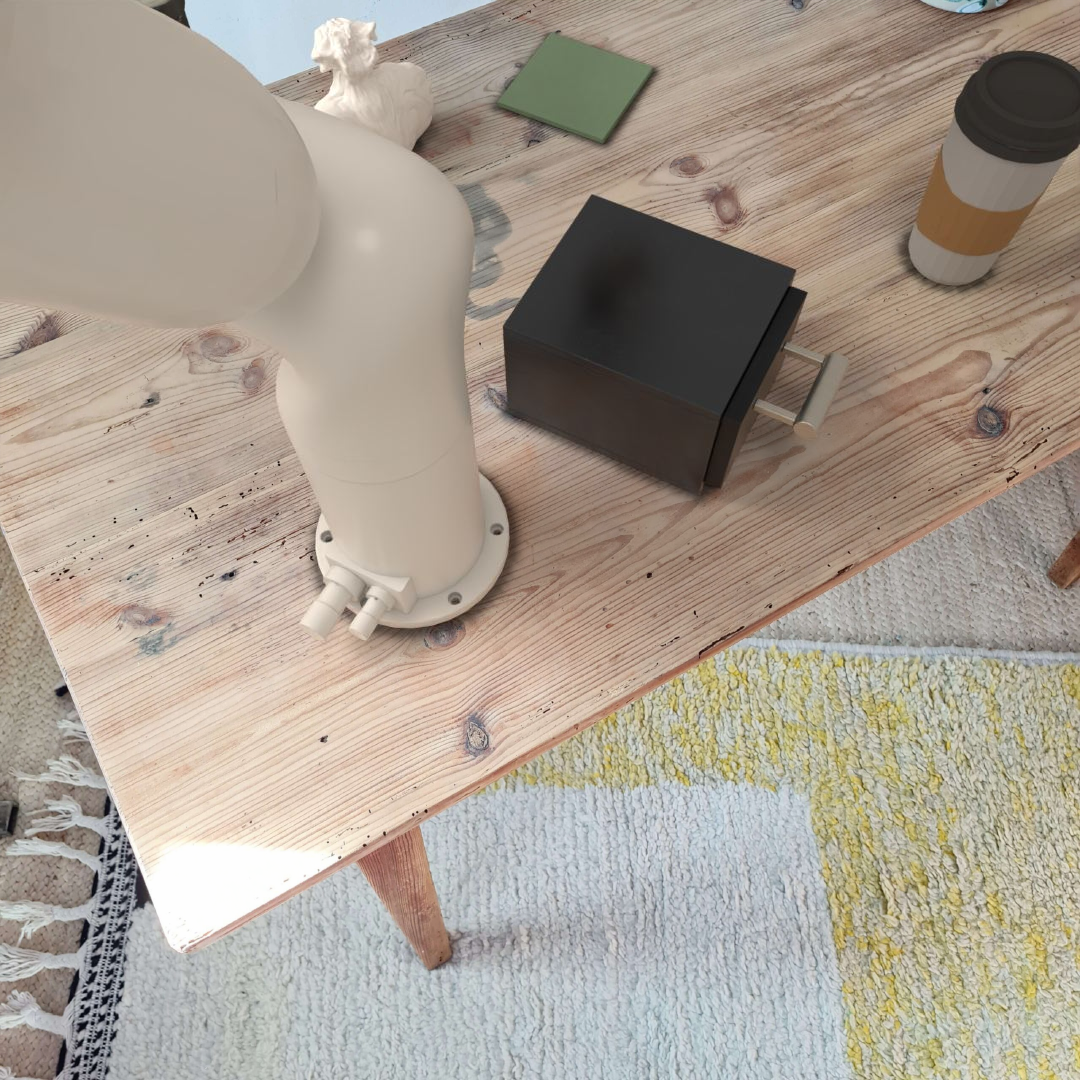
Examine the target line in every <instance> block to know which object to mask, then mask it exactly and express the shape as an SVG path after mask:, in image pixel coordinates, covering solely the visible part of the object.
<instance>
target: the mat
mask: <svg viewBox="0 0 1080 1080" xmlns="http://www.w3.org/2000/svg"><path fill="white" fill-rule="evenodd" d="M653 71H654V67H653V66H652V65H649V64H646V63H642V62H640V61H637V60H634V59H631V58H628V57H625V56H623V55H622V56H621V55H619V54H616V53H613V52H610V51H607V50H604V49H601V48H597V47H595V46H592V45H588V44H585V43H583V42H580V41H577V40H574V39H571V38H568V37H565V36H562V35H559V34H557V33H553V32H550V34H548V35H547V37H546V38H545V39H544V41H543V42H542V44H541V45H540V46H539V47H538V49H537V50H536V51H535V52H534V54H532V56H531V57H530V59H529V60H528V62H527V63H525V65H524V67H523V68H522V69H521V70H520V72H519V73H518V74H517V76H516V77H515V78H514V80H513V81H512V82H511V83H510V85H508V87H507V89H506V90H505V91H504V92H503V93H502V95H501V96H500V98H499V99H498V100H497V107H499V108H501V109H504V110H507V111H510V112H512V113H516V114H519V115H521V116H524V117H526V118H529V119H532V120H536V121H538V122H541V123H544V124H546V125H549V126H552V127H554V128H558V129H561V130H563V131H566V132H569V133H571V134H575V135H577V136H580V137H583V138H586V139H587V140H591V141H594V142H597V143H600V144H602V145H603V144H604V143H605V142H606V140H607V139H608V137H609V136H610V134H611V133H612V132H613V130H614V129H615V127H616V126H617V124H618V123H619V121H620V120H621V119H622V117H623V116H624V114H625V113H626V111H627V110H628V108H630V106H631V104H632V103H633V101H634V100H635V98H636V97H637V95H638V94H639V92H640V91H641V89H642V88H643V86H644V85H645V84H646V82H647V81H648V79H649V78H650V76H651V75H652V74H653Z"/></svg>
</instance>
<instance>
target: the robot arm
mask: <svg viewBox="0 0 1080 1080" xmlns="http://www.w3.org/2000/svg"><path fill="white" fill-rule="evenodd" d="M475 248H476V247H475V228H474V222H473V218H472V213H471V211H470V207H469V206H468V203H467V202H466V200H465V198H464V196H463V195H462V193H461V192H460V191H459V188H458V187H457V186H456V185H455V183H454V182H453V181H451V180H450V178H449V177H448V176H447V175H446V174H445V173H444V172H442V170H440V169H439V168H438V167H436V166H435V165H434V164H432V163H431V162H429V161H428V160H426V159H425V158H423V157H422V156H421V155H419V154H417V153H416V152H414V151H413V150H412V151H411V150H409V149H407V148H405V147H403V146H402V145H400V144H398V143H396V142H394V141H392V140H390V139H388V138H385V137H383V136H381V135H379V134H377V133H375V132H372V131H370V130H367V129H365V128H362V127H360V126H357V125H355V124H352V123H350V122H347V121H345V120H342V119H340V118H337V117H335V116H332V115H330V114H327V113H324V112H322V111H319V110H317V109H314V107H312V106H310V105H307V104H304V103H302V102H298V101H295V100H289V99H287V98H284V97H281V96H279V95H276V94H274V93H272V92H270V90H268V88H267V87H265V85H263V83H262V82H260V81H259V79H258V78H256V76H255V75H254V74H253V73H251V71H249V69H248V68H247V67H245V65H244V64H242V62H240V61H238V59H236V58H234V57H233V56H232V55H230V54H229V53H228V52H226V51H225V50H223V49H222V48H221V47H220V46H218V44H216V43H214V42H213V41H211V40H210V39H209V38H207V37H206V36H204V35H202V34H201V33H198V32H197V31H195V30H193V29H192V28H191V27H190V28H188V27H186V26H184V25H182V24H181V23H179V22H177V21H175V20H173V19H172V18H170V17H168V16H166V15H165V14H163V13H160V12H158V11H156V10H154V9H152V8H150V7H148V6H145V5H143V4H141V3H139V2H137V1H134V0H0V303H7V304H13V305H18V306H26V307H32V308H38V309H44V310H50V311H56V312H63V313H69V314H74V315H79V316H84V317H89V318H94V319H97V320H103V321H106V322H107V321H108V322H111V323H116V324H120V325H123V326H132V327H139V328H147V329H153V330H154V329H155V330H193V329H194V330H195V329H202V328H208V327H211V326H217V325H224V326H226V327H228V328H230V329H232V330H235V331H237V332H239V333H241V334H243V335H245V336H247V337H249V338H252V339H253V340H255V341H257V342H258V343H261V344H263V345H264V346H266V347H268V348H269V349H271V350H272V351H274V352H275V353H277V354H278V355H279V356H281V357H282V359H281V361H280V364H279V367H278V370H277V373H276V379H275V400H276V405H277V409H278V413H279V415H280V416H279V417H280V419H281V421H282V424H283V426H284V429H285V432H286V434H287V436H288V438H289V440H290V443H291V444H292V446H293V449H294V451H295V453H296V455H297V459H298V460H299V462H300V465H301V468H302V469H303V472H304V474H305V476H306V478H307V480H308V481H307V482H308V483H309V485H310V487H311V490H312V492H313V494H314V497H315V499H316V501H317V504H318V506H319V508H320V512H321V513H320V515H319V517H318V521H317V526H316V531H315V542H314V543H315V548H314V549H315V555H316V560H317V565H318V567H319V571H320V573H321V575H322V581H323V583H324V585H325V586H324V588H323V589H322V590H321V592H320V594H319V595H318V597H317V598H316V599H315V600H313V601H312V603H311V605H310V606H309V607H308V609H307V611H306V612H305V613H304V614H303V616H302V618H301V619H300V621H299V622H298V623H297V626H298V628H299V629H300V630H301V631H302V632H303V633H305V634H306V635H308V636H309V637H311V638H313V639H315V640H316V641H319V642H323V643H326V641H327V640H328V638H329V637H330V635H331V633H332V631H333V630H334V629H335V628H336V626H337V624H338V623H339V621H340V619H341V616H342V614H343V612H344V611H345V609H348V610H350V611H351V612H352V613H354V614H355V617H354V618H353V620H352V622H351V623H350V625H349V626H348V628H347V631H349V633H350V634H352V635H353V636H355V637H356V638H358V639H360V640H362V641H364V642H367V641H369V638H370V637H371V635H372V634H373V632H374V631H375V629H376V628H377V626H378V625H380V626H385V627H390V628H395V629H396V628H398V629H419V628H424V627H432V626H435V625H438V624H443V623H445V622H448V621H450V620H453V619H454V618H457V617H459V616H461V615H462V614H464V613H466V612H468V611H469V610H470V609H471V608H473V607H474V606H475V605H477V604H479V602H480V601H482V599H484V598H485V596H486V595H487V594H488V593H489V592H490V590H492V588H493V587H494V586H495V584H496V582H497V581H498V579H499V577H500V575H501V574H502V572H503V569H504V567H505V565H506V561H507V558H508V555H509V548H510V524H509V519H508V513H507V509H506V506H505V505H504V502H503V500H502V497H501V495H500V493H499V492H498V491H497V489H496V488H495V486H494V485H493V484H492V482H491V481H490V480H489V479H488V478H487V477H486V476H484V475H483V474H482V473H481V471H479V465H478V458H477V449H476V441H475V434H474V425H473V424H474V423H473V417H472V408H471V401H470V400H471V399H470V391H469V388H468V387H469V386H468V378H467V370H466V368H467V367H466V358H465V323H466V315H467V308H468V301H469V294H470V288H471V282H472V274H473V270H474V269H473V268H474V259H475V258H474V257H475ZM497 533H499V534H497ZM456 601H457V602H458V603H456V604H454V602H456Z"/></svg>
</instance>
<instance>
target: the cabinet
mask: <svg viewBox="0 0 1080 1080" xmlns="http://www.w3.org/2000/svg"><path fill="white" fill-rule="evenodd" d="M796 273H797V269H796V268H793V267H790V266H789V265H785V264H782V263H780V262H777V261H774V260H772V259H769V258H767V257H764V256H761V255H758V254H756V253H753V252H751V251H747V250H745V249H742V248H739V247H737V246H734V245H732V244H728V243H726V242H723V241H720V240H718V239H716V238H712V237H710V236H707V235H704V234H701V233H699V232H696V231H693V230H691V229H688V228H685V227H682V226H680V225H677V224H674V223H672V222H670V221H666V220H664V219H661V218H658V217H655V216H653V215H650V214H648V213H645V212H642V211H639V210H636V209H634V208H631V207H628V206H625V205H623V204H620V203H618V202H616V201H612V200H610V199H606V198H604V197H601V196H598V195H596V194H590V196H589V197H588V198H587V200H586V202H585V203H584V204H583V206H582V208H581V209H580V210H579V212H578V213H577V215H576V216H575V218H574V220H573V221H572V223H571V224H570V225H569V227H568V228H567V230H566V231H565V233H564V234H563V236H562V237H561V239H560V240H559V241H558V243H557V245H556V246H555V248H553V250H552V251H551V253H550V255H549V256H548V258H547V259H546V261H545V263H544V264H543V266H542V267H541V269H539V272H537V274H536V275H535V278H534V279H533V280H532V281H531V283H530V285H529V286H528V288H527V289H526V291H525V292H524V293H523V295H522V297H521V298H520V299H519V301H518V303H517V304H516V306H515V307H514V308H513V310H512V311H511V313H510V314H509V316H508V317H507V319H506V320H505V322H504V323H503V324H502V339H503V355H504V357H503V358H504V369H505V372H504V375H505V387H506V401H507V414H509V415H510V416H513V417H515V418H518V419H520V420H522V421H524V422H527V423H529V424H531V425H534V426H535V427H538V428H540V429H543V430H545V431H547V432H550V433H552V434H555V435H557V436H559V437H562V438H563V439H566V440H569V441H570V442H573V443H575V444H578V445H580V446H582V447H585V448H587V449H589V450H591V451H594V452H596V453H598V454H600V455H603V456H606V457H608V458H610V459H613V460H615V461H617V462H619V463H621V464H624V465H627V466H629V467H631V468H633V469H636V470H637V471H640V472H642V473H645V474H647V475H649V476H651V477H654V478H657V479H659V480H661V481H664V482H665V483H668V484H670V485H672V486H675V487H677V488H679V489H682V490H684V491H686V492H688V493H691V494H693V495H696V496H699V495H700V493H701V491H702V490H703V487H704V485H706V483H705V482H704V480H705V477H706V473H707V470H708V466H709V462H710V459H711V455H712V452H713V448H714V445H715V441H716V438H717V434H718V431H719V427H720V424H721V420H722V417H723V415H724V413H725V411H726V409H727V407H728V405H729V403H730V401H731V399H732V397H733V395H734V393H735V392H736V390H737V388H738V386H739V384H740V382H741V380H742V378H743V376H744V374H745V372H746V370H747V368H748V367H749V365H750V363H751V361H752V359H753V357H754V355H755V353H756V351H757V349H758V347H759V345H760V343H761V342H762V340H763V338H764V336H765V334H766V332H767V330H768V328H769V326H770V324H771V322H772V320H773V318H774V317H775V315H776V313H777V311H778V309H779V307H780V305H781V303H782V301H783V299H784V297H785V295H786V293H787V292H788V290H789V288H790V286H792V285H793V283H794V280H795V276H796Z"/></svg>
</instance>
